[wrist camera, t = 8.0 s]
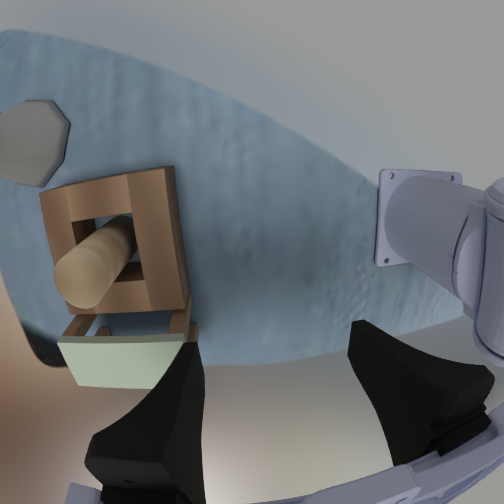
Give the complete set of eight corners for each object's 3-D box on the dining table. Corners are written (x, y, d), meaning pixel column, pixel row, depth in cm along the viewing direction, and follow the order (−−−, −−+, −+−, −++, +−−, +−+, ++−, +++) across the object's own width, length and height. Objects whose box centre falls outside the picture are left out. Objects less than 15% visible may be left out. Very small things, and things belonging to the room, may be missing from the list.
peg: (146, 251, 21) (111, 305, 13) (111, 257, 21) (66, 310, 13) (136, 212, 20) (92, 249, 12) (100, 220, 19) (46, 259, 12)
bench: (190, 291, 22) (182, 341, 16) (198, 332, 24) (194, 387, 18) (88, 298, 21) (57, 342, 15) (102, 337, 23) (78, 385, 17)
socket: (173, 165, 19) (164, 168, 16) (189, 285, 22) (185, 308, 19) (63, 185, 18) (38, 193, 15) (87, 292, 21) (70, 314, 18)
